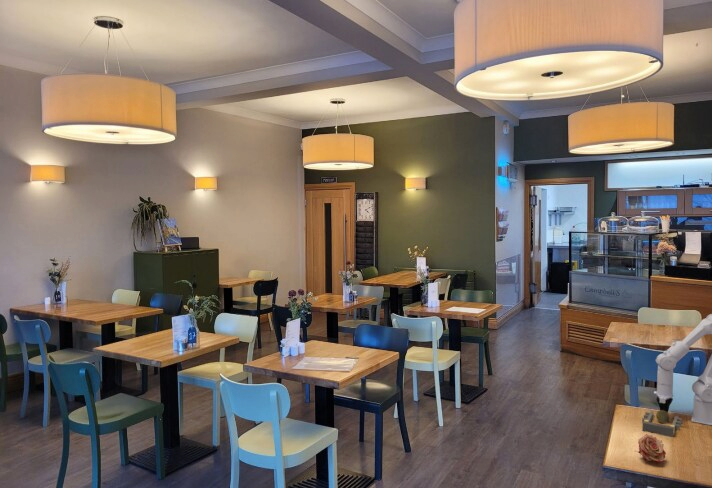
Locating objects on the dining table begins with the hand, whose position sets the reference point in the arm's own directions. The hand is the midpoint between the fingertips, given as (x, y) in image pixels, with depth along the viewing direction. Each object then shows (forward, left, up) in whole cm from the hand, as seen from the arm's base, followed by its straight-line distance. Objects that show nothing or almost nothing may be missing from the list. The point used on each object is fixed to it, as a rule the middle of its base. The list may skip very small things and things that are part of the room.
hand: (664, 415), depth 225 cm
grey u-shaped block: (0, +9, -1) cm, 10 cm away
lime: (0, +5, -1) cm, 6 cm away
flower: (-2, +46, -1) cm, 47 cm away
